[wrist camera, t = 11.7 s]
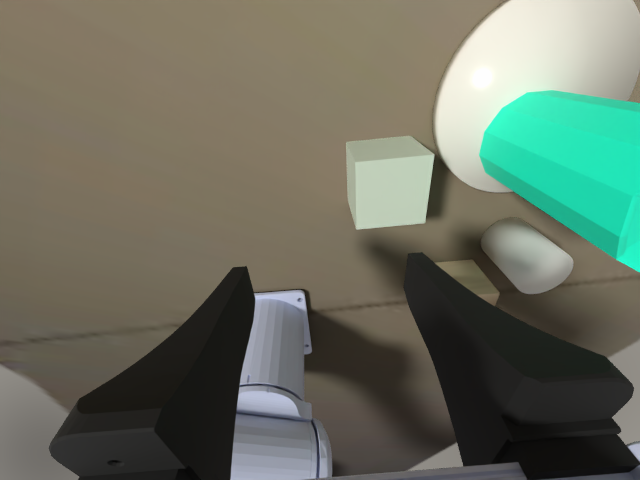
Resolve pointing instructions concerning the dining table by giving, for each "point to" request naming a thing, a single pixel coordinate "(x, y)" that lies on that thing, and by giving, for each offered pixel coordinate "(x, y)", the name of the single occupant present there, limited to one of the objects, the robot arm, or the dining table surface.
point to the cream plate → (531, 69)
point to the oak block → (471, 278)
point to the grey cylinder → (526, 256)
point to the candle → (573, 164)
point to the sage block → (388, 181)
